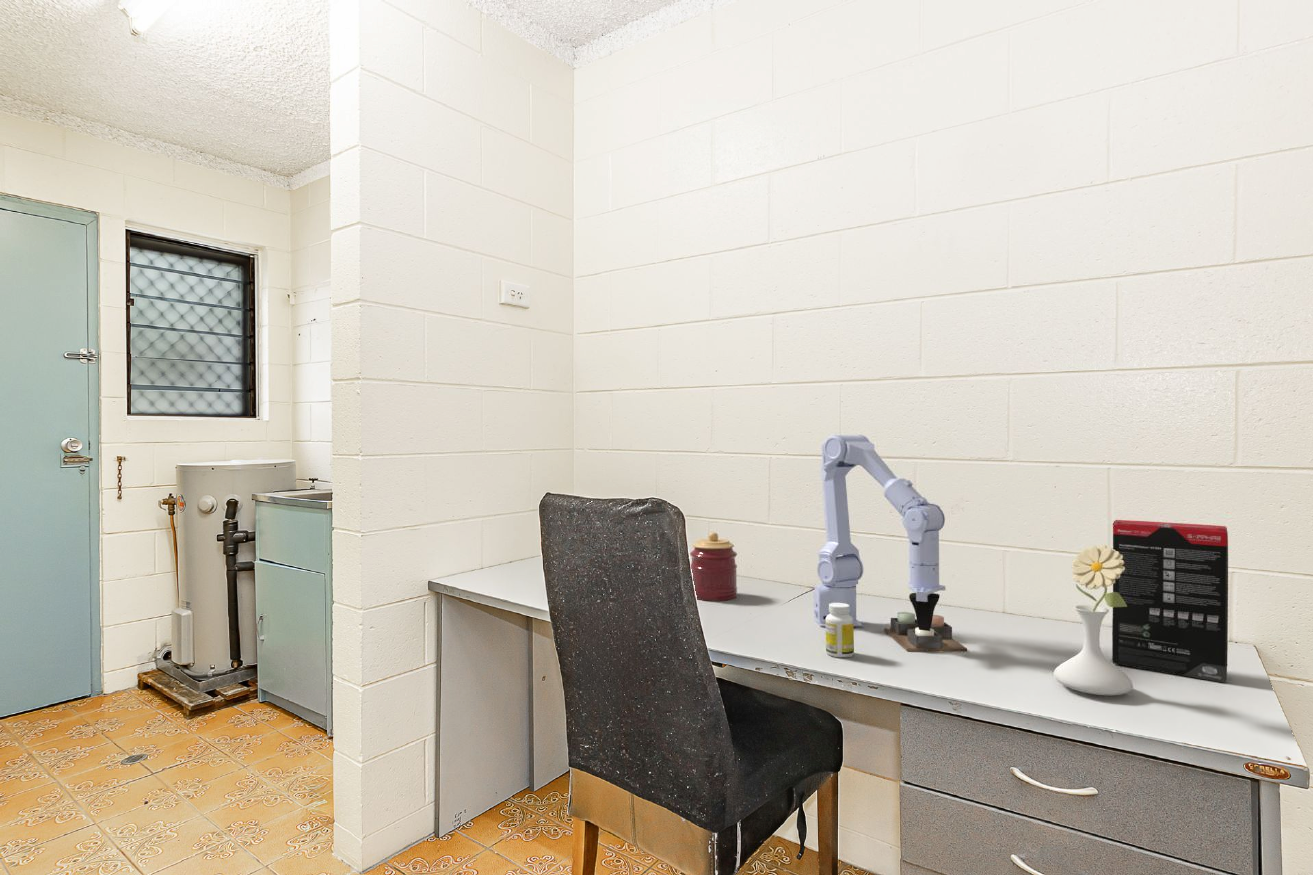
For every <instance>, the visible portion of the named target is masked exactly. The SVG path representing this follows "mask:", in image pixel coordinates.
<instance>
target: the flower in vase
mask: <svg viewBox="0 0 1313 875" xmlns="http://www.w3.org/2000/svg"><path fill="white" fill-rule="evenodd" d="M1075 557H1076V559H1074V560H1073V561H1072V565H1071V569H1072V574H1074V575H1073V577H1072V578H1073V580H1074V581H1075V582H1076V583H1079V585H1080V586H1085V588H1086V589H1088V590H1098V589H1099V588H1100V587H1102V588H1104V590H1103V594H1102V596H1101V597H1100V598H1099V600H1097V599H1096V598H1095V597H1094V596H1093V595H1092V594H1090V593H1088V592H1087V591H1084V590H1083V589H1082V588H1081V587H1079V586H1078V584H1075V585H1076V589H1077V590H1078V591H1079V592H1080V593H1081V594H1083V595H1085V596H1087V597H1088V598H1090V599H1092V600H1093V601H1095V602H1096V604H1095V605H1092V604H1090V605H1089V604H1076V605H1074V606H1073V608H1074V609H1075V610H1076V612H1077V613H1078V615H1079V617H1080V620H1081V623H1082V629H1083V646H1082V649H1081V651H1080V652H1079V653H1077V654H1076V655H1074V656H1072V657H1071V658H1069V659H1067V660H1066V661H1064V662H1062V663H1061V664H1059V665H1058V666H1057V667H1056V668H1055V669H1054V671H1053V677H1054V678H1055V680H1056V681H1057V682H1058V683H1059V684H1061V685H1063V686H1065V687H1067V688H1069V689H1072V690H1074V691H1077V692H1081V693H1085V694H1091V695H1094V696H1095V695H1097V696H1108V697H1110V696H1119V695H1125V694H1129V692H1130V691H1132V689H1133V688H1134V685H1133V683H1132V680H1131V679H1130V678H1129V676H1128V675H1126V674H1125V672H1124V671H1122V670H1121V669H1120V668H1119V667H1117V666H1116V664H1115V663H1113V662H1111V660H1109V659H1108V658H1107V657H1106V656H1105V655H1104V654H1103V652H1102V650H1101V646H1100V645H1101V642H1100V636H1101V635H1100V634H1101V626H1102V623H1103V620H1104V618H1105V616H1106V615H1107V614H1108V613H1109V611H1110V609H1108V608H1106V607H1103V606H1099V605H1100V603H1101V602H1103V600H1104V601H1105V603H1106V605H1107V606H1108V607H1110V608H1113V607H1127V605H1126V603H1125V602H1124V600H1123V599H1122V597H1121V596H1120V594H1119V593H1117V592H1113V591H1112V592H1108V593H1107V591H1108V587H1110V586H1113V584H1114V583H1115V579H1119V578H1120V574H1122V572H1123V571H1124V570H1125V567H1124V566H1122V565H1123V564H1124V561H1123V560H1122V558H1123V555H1121V554H1119V552H1118V551H1116V550H1113V547H1111V546H1107V545H1106V544H1102V545H1099V546H1097V545H1095V544H1094V545H1091V546H1090V548H1083V549H1082V552H1080V553H1077V554H1076V556H1075Z"/></svg>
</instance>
